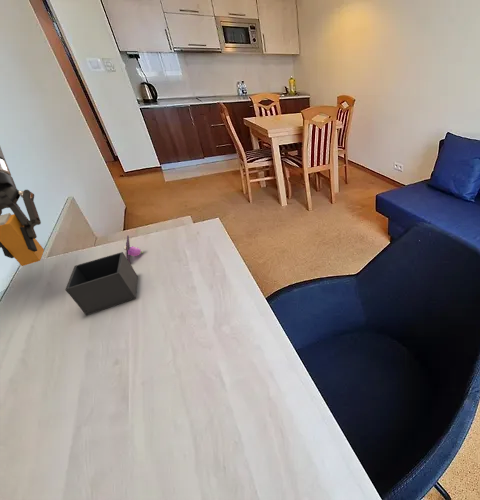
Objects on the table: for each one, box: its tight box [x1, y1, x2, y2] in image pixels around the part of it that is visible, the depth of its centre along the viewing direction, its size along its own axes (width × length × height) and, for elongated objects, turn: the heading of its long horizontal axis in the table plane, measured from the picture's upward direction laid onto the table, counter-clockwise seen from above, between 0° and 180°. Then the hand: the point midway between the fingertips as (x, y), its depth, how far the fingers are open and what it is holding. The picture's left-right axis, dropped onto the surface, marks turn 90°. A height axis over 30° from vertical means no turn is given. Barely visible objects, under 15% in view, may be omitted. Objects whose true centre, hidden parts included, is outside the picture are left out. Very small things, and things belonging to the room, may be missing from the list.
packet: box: [0, 212, 45, 267], centre depth 82 cm, size 4×7×13 cm, turn 34°
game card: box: [123, 235, 144, 262], centre depth 106 cm, size 7×5×9 cm
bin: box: [65, 251, 138, 316], centre depth 88 cm, size 12×12×10 cm
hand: (21, 253), depth 81 cm, fingers closed on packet, 4 cm apart
